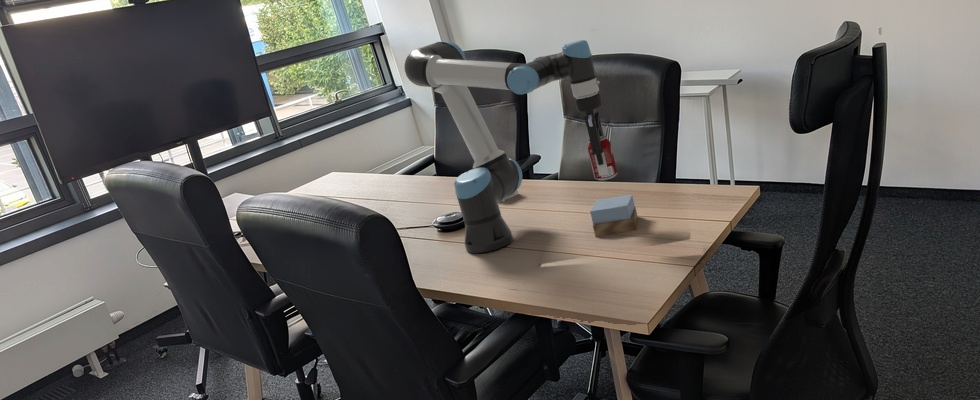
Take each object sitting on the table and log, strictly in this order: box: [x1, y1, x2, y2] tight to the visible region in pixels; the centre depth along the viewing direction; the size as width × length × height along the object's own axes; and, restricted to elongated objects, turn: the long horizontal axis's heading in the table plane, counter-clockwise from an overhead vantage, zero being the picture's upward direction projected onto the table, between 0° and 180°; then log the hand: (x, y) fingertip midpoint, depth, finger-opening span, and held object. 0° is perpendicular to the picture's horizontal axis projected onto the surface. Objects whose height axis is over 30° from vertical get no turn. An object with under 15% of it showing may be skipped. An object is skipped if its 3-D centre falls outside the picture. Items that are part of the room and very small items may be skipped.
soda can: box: [586, 135, 618, 182], centre depth 218 cm, size 7×7×12 cm
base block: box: [592, 206, 639, 238], centre depth 223 cm, size 12×12×4 cm
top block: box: [589, 193, 636, 225], centre depth 222 cm, size 11×11×4 cm
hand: (604, 171), depth 219 cm, fingers closed on soda can, 7 cm apart
